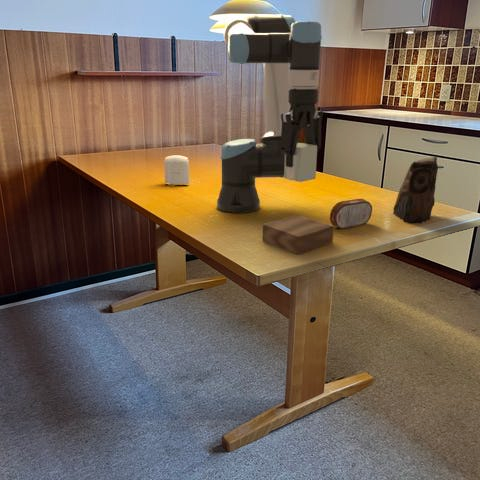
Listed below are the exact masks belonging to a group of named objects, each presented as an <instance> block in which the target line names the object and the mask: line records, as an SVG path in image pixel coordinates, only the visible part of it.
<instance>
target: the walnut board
mask: <svg viewBox="0 0 480 480" xmlns="http://www.w3.org/2000/svg"><path fill="white" fill-rule="evenodd" d="M334 228H335V226H333V225H332V224H328V223H324V222H321V221H318V220H316V219H311V218H309V217H305V216H302V215H299V214H295V215H292V216H288V217H285V218H280V219H277V220H273V221H270V222H266V223H263V224H262V242H265V243H267V244H269V245H272V246H274V247H278V248H280V249H283V250H285V251H287V252H290V253H293V254H296V255H301V254H304V253H307V252H310V251H312V250H315V249H319V248H321V247H324V246H327V245H329V244H333V239H334Z"/></svg>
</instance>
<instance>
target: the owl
mask: <svg viewBox="0 0 480 480" xmlns="http://www.w3.org/2000/svg"><path fill="white" fill-rule="evenodd" d="M437 159H438V157H437V156H433V157H428V158H427V157H426V158H423V159H418V160H417V161H413V162H412V163H411V164H410V166H409V168H408V170H407V171H406V175H405V177H404V180H403V182H402V184H401V186H400V189H399V190H398V191H399V192H398V194H397V197H396V201H395V203H394V206H393V212H392V214H393V215H395V216H396V217H397V218H399V219H400V220H401V221H402V222H403V223H406V224H411V225H413V224H414V225H415V224H417V225H419V224H423V222H427V221H430V220H431V215H432V211H433V207H434V206H435V204H436V203H435V200H436V199H435V192H436V182H437V181H436V180H437V177H438V176H437V175H438V170H439V166H438V162H437Z"/></svg>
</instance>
